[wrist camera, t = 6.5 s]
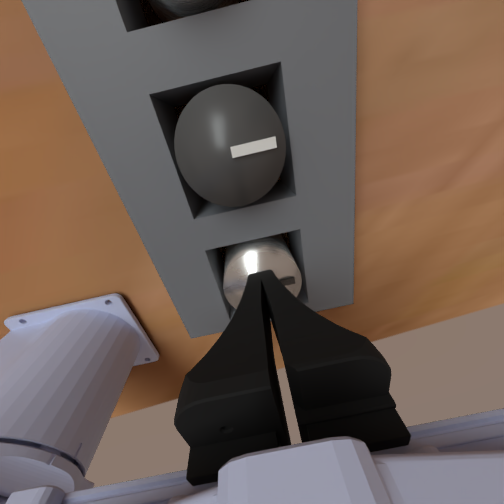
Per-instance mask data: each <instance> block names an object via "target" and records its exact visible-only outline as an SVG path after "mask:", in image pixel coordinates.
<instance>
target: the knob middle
mask: <svg viewBox="0 0 504 504" xmlns="http://www.w3.org/2000/svg"><path fill="white" fill-rule="evenodd" d="M174 149H175V156H176V160H177V163H178V166H179V169H180V171H181V173H182V175H183V177H184V179H185V180H186V182H187V183H188V184H189V186H190V187H191V188H192V189H193V190H194V191H195V192H196V193H197V194H199V195H200V196H201V197H203V198H204V199H206V200H208V201H210V202H212V203H215V204H217V205H221V206H228V207H238V206H244V205H247V204H250V203H253V202H255V201H257V200H258V199H260V198H262V197H263V196H264V195H265V194H267V193H268V192H269V191H270V190H271V189H272V187H273V186H274V185H275V183H276V182H277V180H278V178H279V176H280V174H281V172H282V169H283V166H284V162H285V156H286V139H285V134H284V130H283V126H282V123H281V121H280V119H279V117H278V115H277V113H276V112H275V110H274V109H273V107H272V106H271V105H270V104H269V102H268V101H267V100H265V99H264V98H263V97H262V96H261V95H259V94H258V93H257V92H255V91H253V90H251V89H249V88H247V87H244V86H241V85H235V84H221V85H215V86H212V87H209V88H207V89H205V90H203V91H201V92H200V93H198V94H197V95H196V96H194V97H193V98H192V99H191V100H190V101H189V102H188V104H187V105H186V107H185V108H184V109H183V111H182V113H181V115H180V117H179V120H178V122H177V126H176V130H175V138H174Z"/></svg>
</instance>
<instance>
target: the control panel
mask: <svg viewBox="0 0 504 504" xmlns="http://www.w3.org/2000/svg"><path fill="white" fill-rule="evenodd" d="M22 2H23V4H24V6H25V8H26V10H27V12H28V14H29V16H30V18H31V20H32V22H33V24H34V26H35V28H36V30H37V32H38V34H39V36H40V38H41V40H42V42H43V44H44V46H45V48H46V50H47V52H48V54H49V56H50V58H51V60H52V62H53V64H54V66H55V68H56V70H57V72H58V74H59V76H60V78H61V80H62V82H63V84H64V86H65V88H66V90H67V92H68V94H69V96H70V98H71V100H72V102H73V104H74V106H75V108H76V110H77V112H78V114H79V116H80V118H81V120H82V122H83V124H84V126H85V128H86V130H87V132H88V134H89V136H90V138H91V140H92V142H93V144H94V146H95V148H96V150H97V152H98V154H99V156H100V158H101V160H102V162H103V164H104V166H105V168H106V170H107V172H108V174H109V176H110V178H111V180H112V182H113V184H114V186H115V188H116V190H117V192H118V194H119V196H120V198H121V200H122V202H123V204H124V206H125V208H126V210H127V212H128V214H129V216H130V218H131V220H132V222H133V224H134V226H135V228H136V230H137V232H138V234H139V236H140V238H141V240H142V242H143V244H144V246H145V248H146V250H147V252H148V254H149V256H150V258H151V260H152V262H153V264H154V266H155V268H156V270H157V272H158V274H159V276H160V278H161V280H162V282H163V284H164V285H165V287H166V289H167V291H168V293H169V295H170V297H171V299H172V301H173V303H174V305H175V307H176V309H177V311H178V313H179V315H180V317H181V319H182V321H183V323H184V325H185V327H186V329H187V331H188V333H189V335H190V337H191V338H196V337H200V336H205V335H210V334H214V333H219V332H224V330H225V329H226V327H227V325H228V324H229V322H230V320H231V319H232V317H233V315H234V313H235V311H236V309H235V308H234V307H233V306H232V305H231V304H230V303H229V302H228V300H227V299H226V297H225V294H224V289H223V283H224V267H225V265H224V262H223V259H222V256H221V253H220V250H219V247H223V246H228V245H232V244H236V243H241V242H245V241H250V240H254V239H259V238H263V237H267V236H272V235H276V234H281V233H285V232H288V235H289V242H290V249H291V254H292V256H293V258H294V261H295V263H296V265H297V267H298V269H299V271H300V273H301V278H302V283H301V289H300V292H299V294H298V296H297V297H296V298H297V299H299V300H300V301H301V302H302V303H303V304H305V305H306V306H307V307H309V308H310V309H312V310H313V311H314V312H317V311H322V310H326V309H331V308H336V307H340V306H345V305H350V304H353V293H354V217H355V141H356V66H357V0H250V1H246V2H242V3H238V4H234V5H231V6H227V7H223V8H219V9H215V10H211V11H208V12H204V13H200V14H196V15H192V16H188V17H184V18H181V19H177V20H173V21H169V22H165V23H161V24H158V25H154V26H150V27H148V25H147V22H146V19H145V16H144V12H143V9H142V6H141V3H140V0H22ZM221 84H235V85H241V86H244V87H247V88H252V87H256V86H260V85H264V84H267V90H268V97H269V103H270V105H271V106H272V107H273V109H274V110H275V112H276V113H277V115H278V117H279V119H280V121H281V123H282V126H283V130H284V134H285V139H286V156H285V162H284V166H283V169H282V172H281V174H280V180H281V181H279V182H276V183H275V185H274V186H273V187H272V189H271V190H270V191H269V192H268V193H267V194H265V195H264V196H263V197H262V198H260V199H258V200H257V201H255V202H253V203H250V204H247V205H244V206H238V207H228V206H221V205H217V204H215V203H212V202H210V201H208V200H206V199H203V197H201V196H200V195H199V194H197V193H196V192H195V191H194V190H193V189H192V188H191V187H190V186H189V184H188V183H187V182H186V180H185V179H184V177H183V175H182V173H181V171H180V169H179V166H178V163H177V160H176V156H175V149H174V138H175V130H176V126H177V122H178V118H177V115H176V112H175V109H174V107H175V106H179V105H184V104H188V102H189V101H190V100H191V99H192V98H193V97H194V96H196V95H197V94H198V93H200V92H201V91H203V90H205V89H207V88H209V87H212V86H215V85H221ZM270 321H271V318H270Z"/></svg>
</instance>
